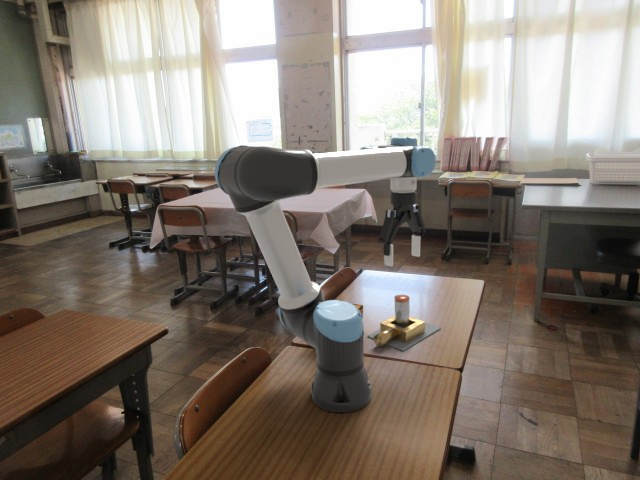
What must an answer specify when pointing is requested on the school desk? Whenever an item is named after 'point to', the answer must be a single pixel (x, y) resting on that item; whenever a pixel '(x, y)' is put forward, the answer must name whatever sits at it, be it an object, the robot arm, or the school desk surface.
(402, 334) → the fitting socket
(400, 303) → the copper-capped silver cylinder
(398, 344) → the mat
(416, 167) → the robot arm
